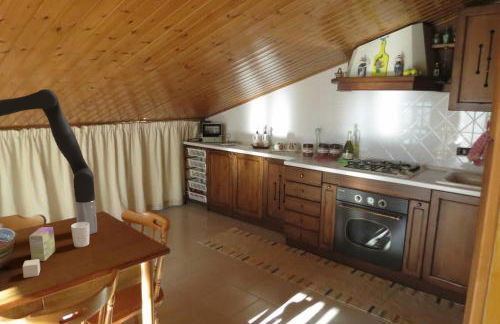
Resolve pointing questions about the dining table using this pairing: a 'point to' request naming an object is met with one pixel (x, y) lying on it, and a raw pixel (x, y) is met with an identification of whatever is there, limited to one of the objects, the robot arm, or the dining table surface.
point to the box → (42, 243)
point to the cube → (31, 268)
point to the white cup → (80, 234)
